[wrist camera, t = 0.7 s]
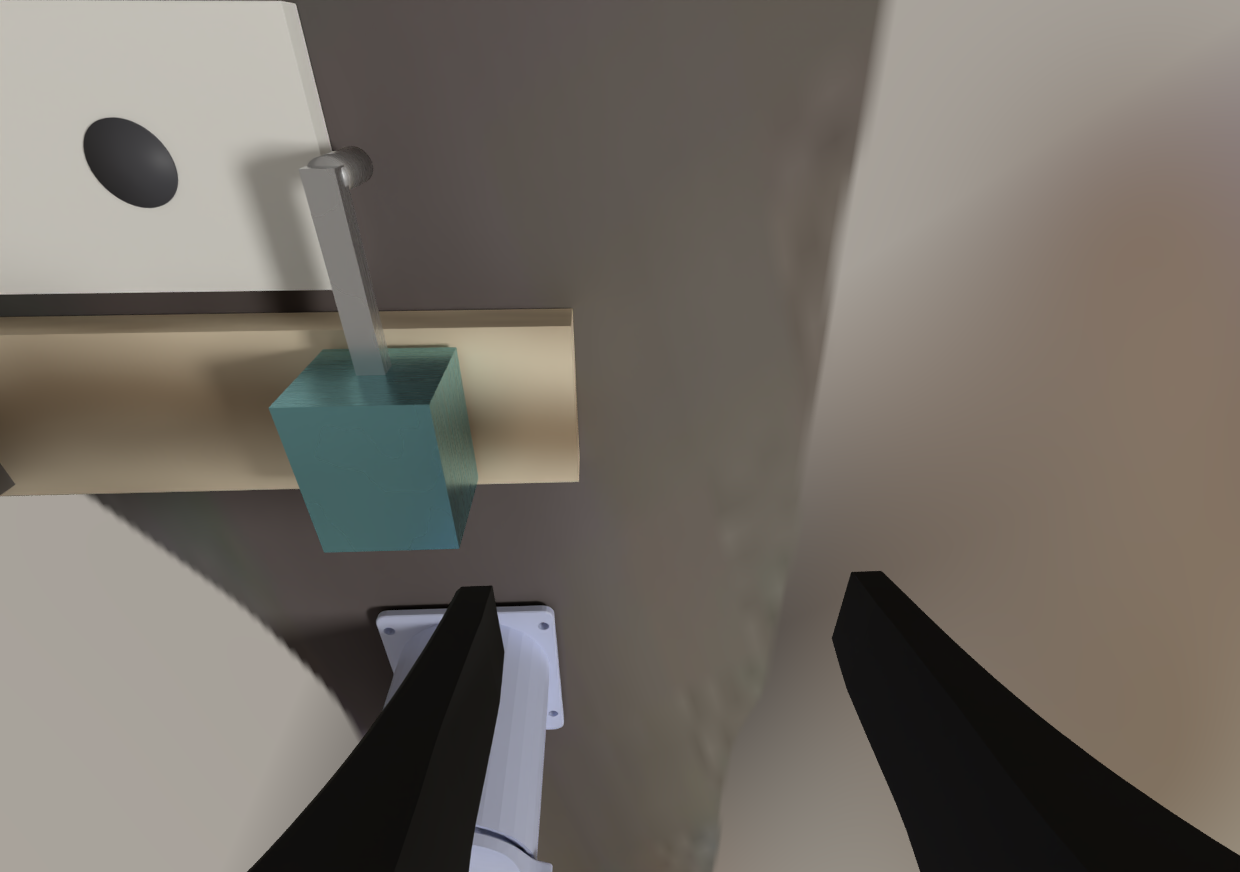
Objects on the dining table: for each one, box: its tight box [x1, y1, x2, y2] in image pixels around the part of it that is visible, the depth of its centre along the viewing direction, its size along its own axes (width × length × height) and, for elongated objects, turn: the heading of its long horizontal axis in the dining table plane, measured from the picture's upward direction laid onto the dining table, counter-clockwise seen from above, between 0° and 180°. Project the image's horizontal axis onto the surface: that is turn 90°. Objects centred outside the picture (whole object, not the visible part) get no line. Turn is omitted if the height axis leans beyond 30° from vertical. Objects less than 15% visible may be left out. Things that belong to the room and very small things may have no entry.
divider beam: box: [0, 308, 580, 496], centre depth 17 cm, size 11×24×5 cm, turn 90°
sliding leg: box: [269, 146, 478, 552], centre depth 16 cm, size 10×4×4 cm, turn 0°
